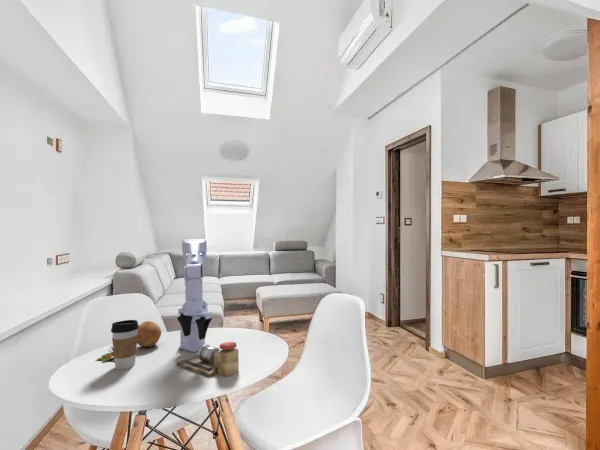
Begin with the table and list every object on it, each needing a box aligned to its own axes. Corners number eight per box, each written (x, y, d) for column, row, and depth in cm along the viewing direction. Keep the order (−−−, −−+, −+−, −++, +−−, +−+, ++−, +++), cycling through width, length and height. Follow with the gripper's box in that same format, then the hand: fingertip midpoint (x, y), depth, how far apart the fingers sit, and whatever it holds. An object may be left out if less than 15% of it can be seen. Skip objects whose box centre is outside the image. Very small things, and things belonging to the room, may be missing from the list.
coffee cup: (105, 369, 106) (104, 323, 106) (126, 359, 114) (126, 317, 114) (123, 372, 103) (123, 325, 103) (144, 362, 111) (144, 319, 111)
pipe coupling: (195, 358, 107) (200, 343, 109) (206, 361, 110) (211, 346, 112) (206, 362, 103) (212, 346, 105) (217, 364, 107) (222, 349, 109)
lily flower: (87, 363, 112) (87, 350, 112) (114, 351, 124) (114, 339, 124) (115, 365, 110) (115, 352, 110) (140, 353, 121) (140, 341, 122)
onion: (167, 343, 130) (166, 319, 130) (146, 352, 121) (146, 325, 121) (149, 341, 134) (149, 317, 134) (128, 349, 125) (128, 323, 125)
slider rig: (176, 365, 107) (176, 339, 108) (203, 354, 117) (202, 330, 117) (220, 381, 95) (220, 351, 95) (246, 367, 104) (246, 341, 104)
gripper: (170, 298, 112) (171, 337, 111) (199, 302, 104) (200, 343, 104) (187, 295, 118) (187, 331, 117) (215, 298, 110) (216, 337, 110)
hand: (194, 337), depth 111 cm, fingers open, 7 cm apart
